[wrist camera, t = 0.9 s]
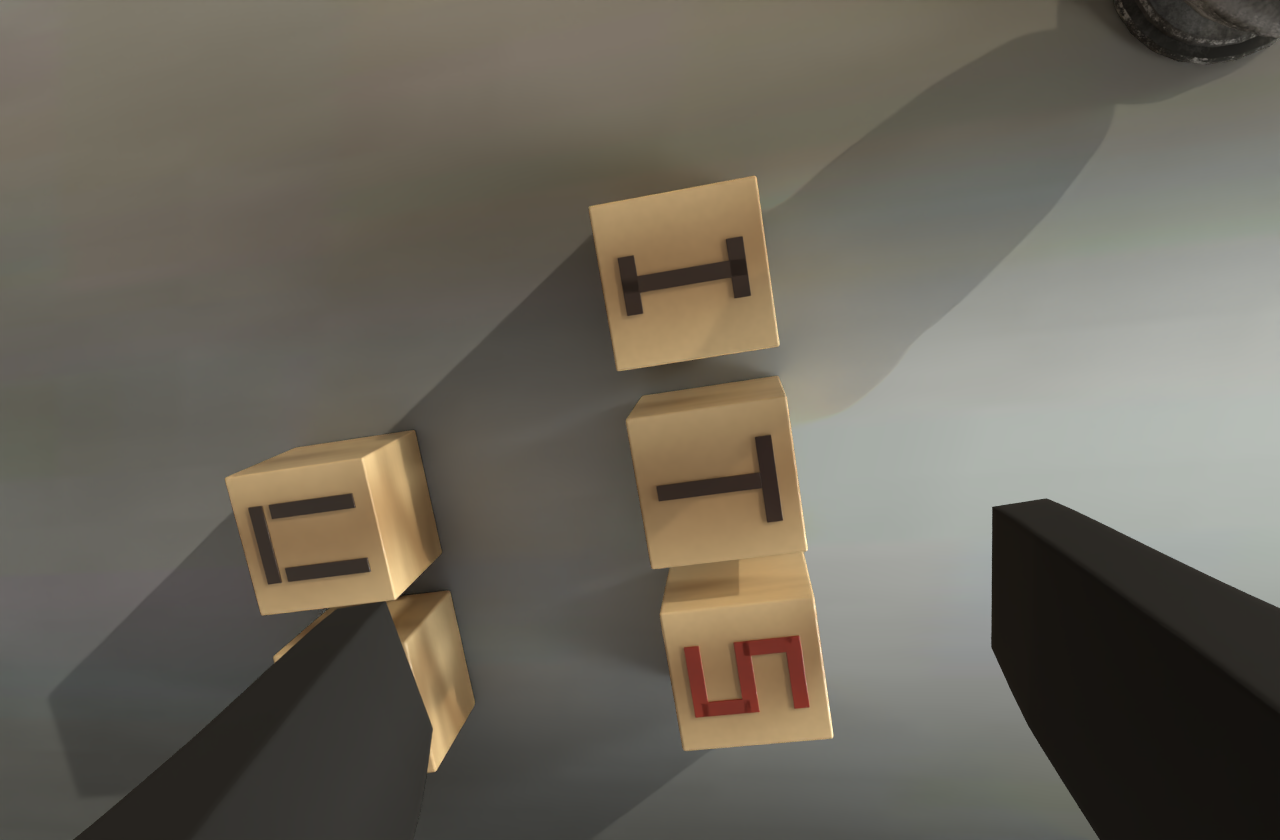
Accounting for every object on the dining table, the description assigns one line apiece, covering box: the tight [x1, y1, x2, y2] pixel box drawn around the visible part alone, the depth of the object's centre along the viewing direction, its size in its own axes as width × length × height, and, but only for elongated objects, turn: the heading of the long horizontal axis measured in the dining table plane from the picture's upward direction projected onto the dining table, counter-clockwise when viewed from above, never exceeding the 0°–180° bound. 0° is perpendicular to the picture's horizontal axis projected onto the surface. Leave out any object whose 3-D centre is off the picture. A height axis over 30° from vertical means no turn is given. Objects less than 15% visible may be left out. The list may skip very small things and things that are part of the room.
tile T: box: [626, 376, 808, 569], centre depth 22 cm, size 4×4×4 cm
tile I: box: [589, 176, 779, 371], centre depth 21 cm, size 4×4×4 cm
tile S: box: [659, 552, 833, 751], centre depth 23 cm, size 4×4×4 cm
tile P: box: [273, 590, 475, 773], centre depth 24 cm, size 4×4×4 cm
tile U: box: [225, 430, 442, 616], centre depth 23 cm, size 4×4×4 cm
